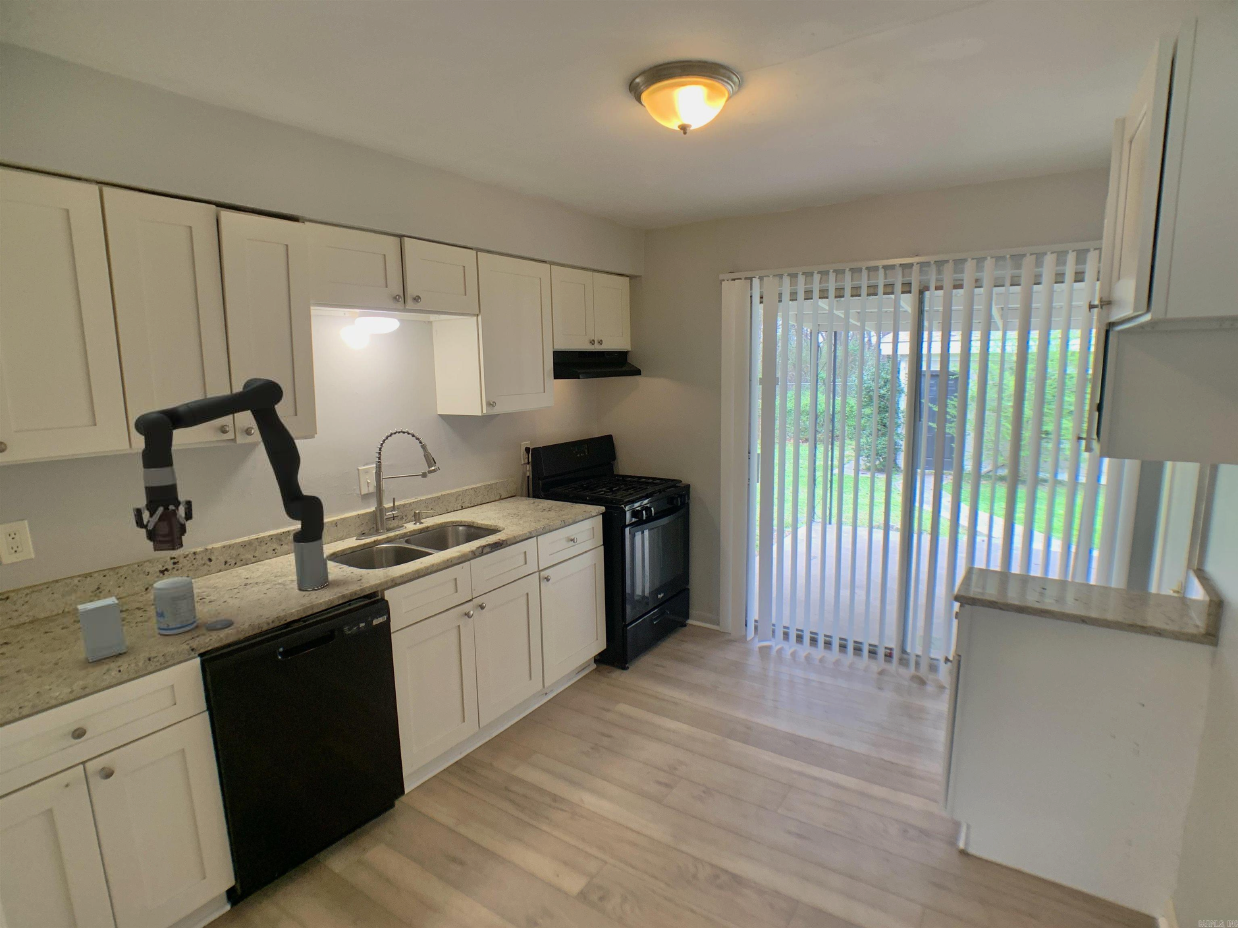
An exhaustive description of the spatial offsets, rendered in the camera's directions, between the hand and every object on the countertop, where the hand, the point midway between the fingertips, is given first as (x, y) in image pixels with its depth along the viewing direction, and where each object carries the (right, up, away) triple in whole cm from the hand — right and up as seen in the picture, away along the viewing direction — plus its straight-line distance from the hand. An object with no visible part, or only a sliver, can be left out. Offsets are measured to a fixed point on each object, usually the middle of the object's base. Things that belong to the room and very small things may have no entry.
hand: (167, 538), depth 177 cm
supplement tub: (0, -28, +4) cm, 28 cm away
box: (0, -3, 0) cm, 3 cm away
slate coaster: (+11, -27, +6) cm, 30 cm away
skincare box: (-7, -30, -12) cm, 33 cm away
